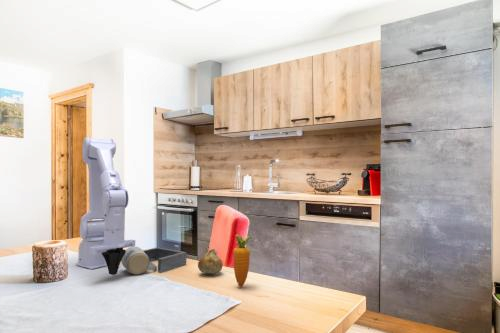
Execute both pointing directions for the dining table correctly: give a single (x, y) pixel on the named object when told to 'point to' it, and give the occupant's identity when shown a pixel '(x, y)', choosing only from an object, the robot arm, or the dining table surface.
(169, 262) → the grey u-shaped piece
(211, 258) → the onion
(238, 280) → the carrot
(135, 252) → the ceramic mug
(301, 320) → the dining table surface
